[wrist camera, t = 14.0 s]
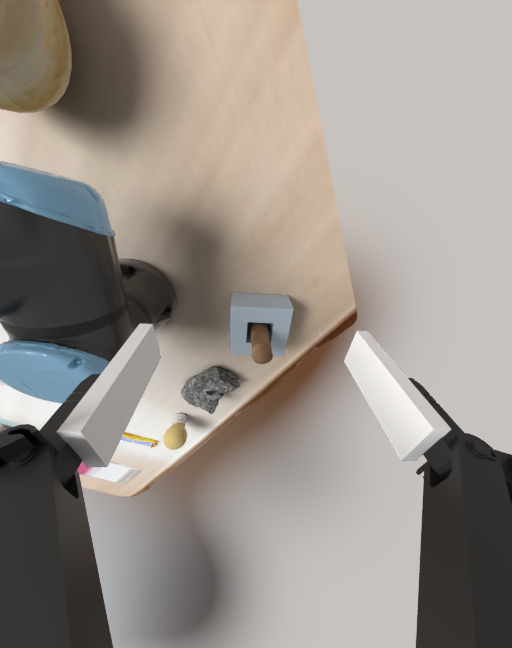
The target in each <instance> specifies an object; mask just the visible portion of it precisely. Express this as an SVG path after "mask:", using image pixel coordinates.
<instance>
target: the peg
mask: <svg viewBox="0 0 512 648" xmlns="http://www.w3.org/2000/svg"><path fill="white" fill-rule="evenodd" d="M250 330H251V344H252V358H253V360H254V361H255V362H256V363H258V364H265V363H268V362H269V361H271V359H272V357H273V354H272V349H271V343H270V338H269V333H268V328H267V323H254V322H250Z"/></svg>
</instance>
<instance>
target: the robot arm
mask: <svg viewBox="0 0 512 648" xmlns="http://www.w3.org/2000/svg"><path fill="white" fill-rule="evenodd" d="M114 236H115V233H114V231H113V230H112V228H111V225H110V221H109V218H108V214H107V210H106V206H105V203H104V201H103V199H102V197H101V196H100V194H99V193H98V192H97V191H96V190H95V189H93V188H92V187H91V186H89V185H87V184H85V183H83V182H81V181H77V180H74V179H71V178H67V177H63V176H59V175H56V174H52V173H48V172H44V171H40V170H36V169H32V168H28V167H24V166H20V165H16V164H12V163H8V162H4V161H0V323H1V324H2V326H3V328H4V329H5V331H6V332H7V334H8V336H9V341H8V342H4V343H2V344H0V380H1V381H2V382H4V383H5V384H7V385H8V386H10V387H12V388H14V389H16V390H18V391H20V392H22V393H25V394H27V395H30V396H33V397H36V398H39V399H43V400H47V401H51V402H57V403H63V404H62V405H61V406H60V407H59V408H58V410H57V411H56V412H55V413H54V414H53V416H52V417H51V418H50V419H49V420H48V421H47V423H46V424H45V425H44V426H43V427H42V429H41V430H40V431H38V430H37V429H36V428H35V427H34V426H32V425H29V424H26V425H18V426H15V427H12V428H10V429H7V430H5V431H4V432H2V433H0V648H113V645H112V640H111V635H110V631H109V625H108V620H107V614H106V609H105V605H104V600H103V594H102V589H101V584H100V579H99V574H98V569H97V564H96V559H95V553H94V549H93V543H92V538H91V533H90V528H89V523H88V519H87V513H86V508H85V502H84V497H83V492H82V487H81V482H80V477H79V473H78V472H77V469H78V467H79V466H80V464H81V462H82V461H83V462H84V464H85V465H86V466H87V467H107V466H108V464H109V462H110V460H111V458H112V456H113V454H114V452H115V450H116V448H117V446H118V444H119V442H120V440H121V438H122V436H123V434H124V431H125V429H126V427H127V425H128V423H129V421H130V419H131V417H132V415H133V413H134V411H135V409H136V407H137V405H138V403H139V401H140V399H141V397H142V395H143V393H144V391H145V389H146V387H147V385H148V383H149V381H150V379H151V377H152V375H153V373H154V371H155V368H156V366H157V364H158V362H159V360H160V358H161V355H160V351H159V347H158V343H157V339H156V335H155V331H156V330H158V329H159V328H161V327H163V326H164V325H165V324H166V323H167V322H168V321H169V320H170V318H171V317H172V315H173V313H174V311H175V308H176V296H175V292H174V290H173V287H172V286H171V284H170V282H169V281H168V280H167V278H166V277H165V276H164V275H163V274H162V273H161V272H159V271H158V270H157V269H155V268H154V267H152V266H150V265H148V264H146V263H144V262H141V261H138V260H133V259H119V260H118V255H117V250H116V245H115V240H114ZM344 362H345V364H346V365H347V367H348V369H349V371H350V372H351V374H352V376H353V377H354V380H355V381H356V383H357V385H358V387H359V388H360V390H361V392H362V393H363V395H364V397H365V399H366V401H367V402H368V404H369V406H370V407H371V409H372V411H373V413H374V415H375V416H376V418H377V420H378V422H379V423H380V425H381V426H382V428H383V430H384V432H385V434H386V436H387V437H388V439H389V441H390V443H391V444H392V446H393V448H394V450H395V451H396V453H397V455H398V457H399V458H400V460H401V461H417V460H418V458H420V457H421V456H422V455H424V456H425V457H426V459H427V462H426V463H425V464H424V465H422V466H421V467H420V468H419V469H418V470H417V472H416V473H417V474H418V475H419V474H421V473H422V472H423V471H424V477H423V478H424V489H423V510H422V531H421V553H420V573H419V594H418V616H417V637H416V638H417V639H416V648H512V455H510V454H507V453H503V452H500V451H497V450H493V448H492V447H490V446H489V445H488V444H487V443H486V442H484V441H483V440H481V439H480V438H478V437H476V436H474V435H471V434H467V433H464V432H463V431H462V430H461V429H460V428H459V427H458V426H457V424H456V423H455V422H454V421H453V420H452V419H451V418H450V416H449V415H448V414H447V413H446V412H445V411H444V410H443V409H442V408H441V406H440V405H439V404H438V403H436V401H435V400H434V399H433V397H432V396H430V394H429V393H428V392H427V391H426V390H425V389H424V387H423V386H422V385H420V384H419V383H418V382H416V381H415V380H414V379H412V378H407V376H406V375H405V374H404V373H403V372H402V371H401V369H399V367H398V366H397V365H396V364H395V362H394V361H393V360H392V359H391V358H390V357H389V356H388V354H387V353H386V352H385V351H384V350H383V348H382V347H381V346H380V345H379V344H378V343H377V341H376V340H375V339H374V338H373V337H372V336H371V334H370V333H369V332H368V331H357V332H356V334H355V336H354V339H353V341H352V343H351V346H350V348H349V350H348V353H347V355H346V357H345V360H344Z"/></svg>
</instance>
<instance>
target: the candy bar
mask: <svg viewBox="0 0 512 648" xmlns="http://www.w3.org/2000/svg"><path fill="white" fill-rule="evenodd" d="M121 440H124V441H128V442H133V443H138V444H142V445H147V446H152V447H153V446H154V447H155V446H156V444H157V441H156V440H152V439H149V438H145V437H141V436H137V435H134V434H130V433H126V432H124V434H123V436H122V438H121ZM155 443H156V444H155ZM152 447H151V448H152Z"/></svg>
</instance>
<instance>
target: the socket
mask: <svg viewBox="0 0 512 648" xmlns="http://www.w3.org/2000/svg"><path fill="white" fill-rule="evenodd" d="M293 311H294V308H293V306H292V303H291V301H290V298H289V296H288V295H273V294H255V293H237V292H232V296H231V304H230V355H252V344H251V330H250V322H254V323H267V328H268V333H269V338H270V343H271V349H272V354H273V356H284V353H285V349H286V344H287V339H288V334H289V330H290V325H291V320H292V316H293Z"/></svg>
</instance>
